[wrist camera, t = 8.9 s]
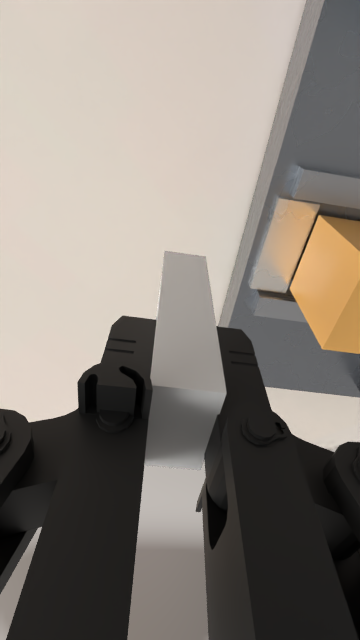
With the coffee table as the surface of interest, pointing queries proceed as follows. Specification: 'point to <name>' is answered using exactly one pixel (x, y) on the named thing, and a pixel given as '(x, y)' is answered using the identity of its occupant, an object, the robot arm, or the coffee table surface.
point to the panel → (302, 202)
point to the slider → (331, 284)
